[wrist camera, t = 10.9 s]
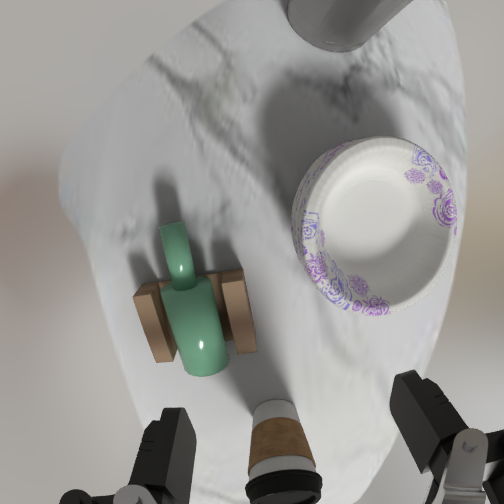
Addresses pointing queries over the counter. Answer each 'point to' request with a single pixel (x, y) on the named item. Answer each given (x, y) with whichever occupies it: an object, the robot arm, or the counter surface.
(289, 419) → the coffee cup
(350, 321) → the counter surface
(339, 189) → the paper bowls
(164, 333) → the cradle
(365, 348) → the counter surface
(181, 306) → the bottle
